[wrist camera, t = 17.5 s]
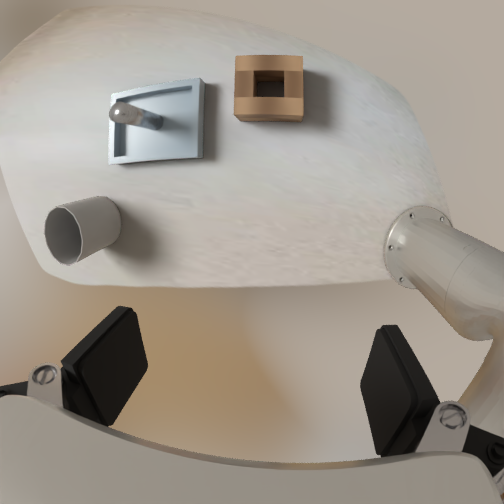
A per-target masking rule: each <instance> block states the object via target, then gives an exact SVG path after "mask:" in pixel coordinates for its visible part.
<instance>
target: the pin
mask: <svg viewBox="0 0 504 504" xmlns="http://www.w3.org/2000/svg"><path fill="white" fill-rule="evenodd" d="M109 117H110V119H111V120H112V121H113V122H117V123H122V124H127V125H132V126H136V127H141V128H145V129H150V130H158V129H160V128H161V127H162V125H163V118H162V116H161V115H158V114H156V113H153V112H150V111H147V110H145V109H142V108H139V107H136V106H133V105H130V104H127V103H124V102H116V103H115V104H114V105H113V106H112V107H111V109H110V112H109Z"/></svg>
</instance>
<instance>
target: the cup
mask: <svg viewBox="0 0 504 504" xmlns="http://www.w3.org/2000/svg"><path fill="white" fill-rule="evenodd" d="M121 225H122V222H121V217H120V212H119V210H118V208H117V207H116V205H115V203H114V202H113V201H111V200H110V199H108V198H107V197H102V196H96V197H92V198H87V199H83V200H79V201H75V202H71V203H67V204H63V205H59V206H56V207H54V208H53V209H52V210H50V211H49V213H48V215H47V217H46V220H45V226H44V235H45V240H46V244H47V247H48V249H49V251H50V253H51V254H52V256H53V257H54V258H55V259H56V260H57V261H58V262H59V263H60V264H63V265H67V266H70V265H72V264H74V263H76V262H78V261H80V260H82V259H84V258H86V257H88V256H89V255H91V254H93V253H95V252H97V251H99V250H101V249H103V248H105V247H107V246H109V245H110V244H112V243H114V242H115V241H116V240H117V238H118V237H119V235H120V231H121Z"/></svg>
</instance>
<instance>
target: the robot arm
mask: <svg viewBox="0 0 504 504" xmlns="http://www.w3.org/2000/svg"><path fill="white" fill-rule="evenodd" d="M410 214H411V216H410ZM389 246H390V247H389ZM388 247H389V248H388ZM384 260H385V265H386V268H387V270H388V272H389V274H390V275H391V277H392V278H393V279H394V280H395V281H396V282H397V283H398V284H399V285H401V286H404V287H406V288H410V289H418V290H419V291H420V292H421V293H422V294H423V295H424V296H425V297H426V298H427V299H428V301H429V302H430V303H431V304H432V305H433V306H434V307H435V308H436V309H437V310H438V312H439V313H440V314H441V315H442V316H443V317H444V318H445V320H446V321H447V322H448V323H449V324H450V325H451V326H452V327H453V329H454V330H455V331H456V332H457V333H458V334H459V335H461V336H462V337H464V338H467V339H469V340H473V341H483V340H490V339H493V342H492V346H491V348H490V350H489V352H488V353H487V355H486V357H485V359H484V362H483V364H482V365H481V367H480V369H479V370H478V372H477V374H476V375H475V377H474V378H473V380H472V382H471V383H470V384H469V386H468V387H467V389H466V390H465V392H464V393H463V395H462V396H461V397H460V399H459V400H458V401H457V402H455V401H445V402H442V403H440V401H439V399H438V396H437V395H436V392H435V390H434V389H433V387H432V385H431V383H430V381H429V379H428V377H427V375H426V374H425V372H424V370H423V368H422V366H421V365H420V363H419V361H418V359H417V357H416V356H415V354H414V352H413V351H412V349H411V347H410V345H409V344H408V342H407V340H406V339H405V337H404V335H403V334H402V332H401V330H400V329H399V327H398V326H397V325H383V326H382V327H381V329H377V331H376V334H375V338H374V341H373V345H372V348H371V351H370V355H369V358H368V361H367V364H366V367H365V370H364V373H363V376H362V379H361V383H360V384H361V385H360V388H361V392H362V396H363V400H364V403H365V408H366V412H367V416H368V420H369V424H370V428H371V433H372V437H373V441H374V446H375V450H376V454H377V455H381V458H374V459H366V460H357V461H343V462H326V463H279V462H263V461H251V460H241V459H233V458H226V457H219V456H213V455H206V454H201V453H196V452H191V451H186V450H182V449H178V448H174V447H169V446H166V445H162V444H158V443H155V442H151V441H148V440H144V439H141V438H138V437H135V436H132V435H129V434H126V433H123V432H120V431H117V430H114V429H112V428H109V427H108V426H111V425H113V423H114V422H115V420H116V419H117V417H118V415H119V414H120V412H121V410H122V409H123V407H124V406H125V404H126V402H127V401H128V399H129V398H130V396H131V395H132V393H133V391H134V390H135V388H136V386H137V385H138V383H139V382H140V380H141V379H142V377H143V375H144V374H145V372H146V371H147V368H148V363H147V358H146V354H145V350H144V346H143V341H142V337H141V333H140V328H139V323H138V318H137V314H136V312H134V311H133V309H132V308H129V307H123V306H118V307H116V309H114V310H113V311H112V312H111V313H110V314H109V315H108V316H107V317H106V318H105V319H103V321H101V322H100V323H99V324H98V325H97V326H96V327H95V328H94V329H93V330H92V331H91V332H90V333H89V334H88V335H87V336H86V337H85V338H83V339H82V340H81V341H80V342H79V343H78V344H77V345H76V346H75V347H74V348H73V349H72V350H71V351H70V352H69V353H68V354H67V355H66V356H65V357H64V358H63V359H62V360H61V363H62V365H63V367H62V368H61V369H60V368H59V366H58V365H56V364H54V363H43V364H40V365H38V366H36V367H35V368H34V369H33V370H32V371H31V372H30V374H29V379H28V381H25V382H20V383H15V384H10V385H4V386H0V504H504V252H502V251H500V250H498V249H496V248H494V247H492V246H490V245H488V244H486V243H484V242H482V241H480V240H478V239H476V238H474V237H472V236H470V235H468V234H465V233H463V232H461V231H459V230H457V229H455V228H452V226H451V224H450V222H449V220H448V219H447V218H446V216H445V215H444V214H442V213H441V212H440V211H438V210H436V209H434V208H431V207H427V206H417V207H414V208H411V209H408V210H407V211H405V212H403V213H402V214H401V215H400V216H399V217H398V218H397V219H396V220H395V221H394V223H393V224H392V226H391V227H390V229H389V231H388V234H387V237H386V239H385V245H384Z"/></svg>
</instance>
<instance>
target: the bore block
mask: <svg viewBox="0 0 504 504" xmlns="http://www.w3.org/2000/svg"><path fill="white" fill-rule="evenodd" d="M257 82H284V97H257ZM234 115H235V116H236V117H237V118H238V119H239V121H285V122H301V121H302V118H303V56H289V55H246V56H236V59H235V91H234Z"/></svg>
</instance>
